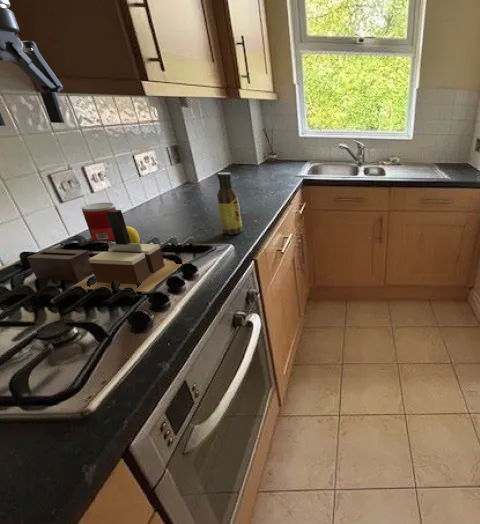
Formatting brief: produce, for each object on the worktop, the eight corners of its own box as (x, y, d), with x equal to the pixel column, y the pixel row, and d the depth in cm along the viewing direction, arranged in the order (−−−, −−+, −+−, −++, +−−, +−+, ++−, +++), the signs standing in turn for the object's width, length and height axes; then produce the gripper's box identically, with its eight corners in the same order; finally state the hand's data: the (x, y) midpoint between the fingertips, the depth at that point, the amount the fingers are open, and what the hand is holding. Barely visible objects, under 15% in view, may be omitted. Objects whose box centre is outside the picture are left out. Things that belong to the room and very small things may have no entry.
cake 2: (115, 271, 82) (107, 249, 79) (127, 264, 86) (120, 242, 83) (154, 273, 82) (148, 251, 79) (165, 265, 86) (159, 244, 83)
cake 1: (96, 282, 77) (88, 259, 74) (110, 274, 81) (103, 251, 78) (138, 284, 76) (131, 261, 74) (150, 275, 80) (144, 253, 78)
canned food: (129, 238, 106) (119, 204, 101) (100, 246, 99) (88, 210, 95) (117, 233, 109) (106, 201, 104) (88, 241, 103) (76, 206, 98)
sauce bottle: (242, 234, 111) (233, 174, 103) (222, 236, 110) (212, 175, 101) (242, 228, 117) (234, 171, 108) (223, 230, 115) (214, 171, 107)
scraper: (115, 274, 81) (94, 210, 74) (120, 271, 82) (99, 208, 75) (146, 275, 80) (127, 212, 74) (150, 272, 82) (132, 210, 75)
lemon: (115, 254, 95) (106, 227, 91) (132, 246, 100) (124, 221, 96) (131, 256, 94) (123, 229, 90) (147, 249, 98) (140, 223, 95)
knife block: (39, 284, 78) (26, 257, 75) (57, 274, 83) (47, 248, 80) (80, 286, 78) (69, 259, 75) (96, 276, 83) (87, 250, 80)
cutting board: (71, 293, 75) (69, 288, 74) (122, 263, 89) (120, 258, 89) (149, 297, 74) (147, 291, 74) (187, 266, 89) (186, 261, 88)
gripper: (-79, -17, 52) (-16, 127, 62) (61, 21, 75) (92, 122, 84) (-124, -18, 53) (-55, 126, 62) (29, 20, 75) (63, 121, 84)
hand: (30, 124), depth 73 cm, fingers open, 13 cm apart
